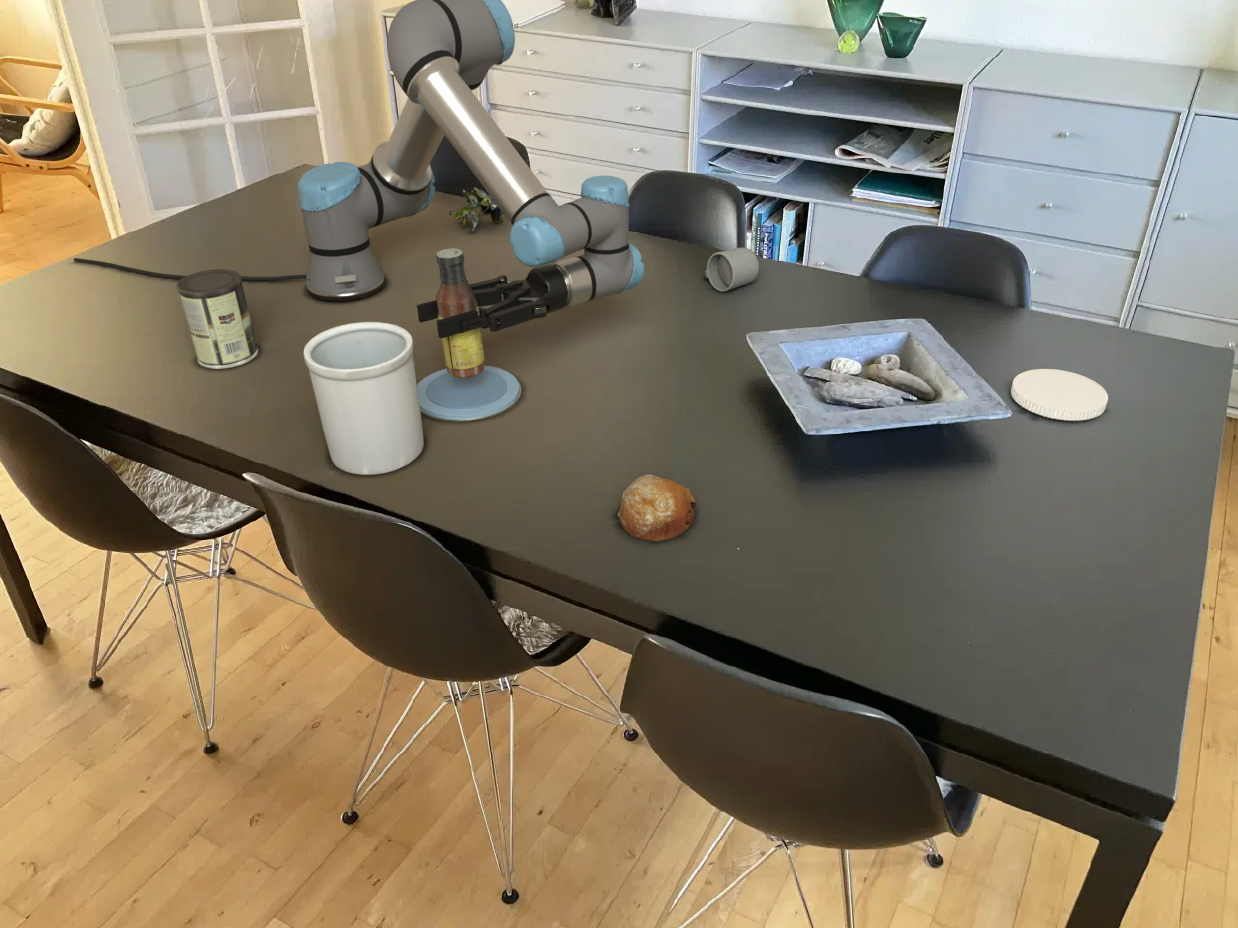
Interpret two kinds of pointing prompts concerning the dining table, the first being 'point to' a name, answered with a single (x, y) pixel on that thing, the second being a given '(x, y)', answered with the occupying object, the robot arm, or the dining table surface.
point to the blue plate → (468, 395)
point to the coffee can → (218, 318)
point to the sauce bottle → (452, 300)
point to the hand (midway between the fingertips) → (428, 321)
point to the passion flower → (478, 200)
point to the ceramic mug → (732, 268)
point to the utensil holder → (367, 396)
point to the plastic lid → (1059, 394)
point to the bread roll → (656, 508)
